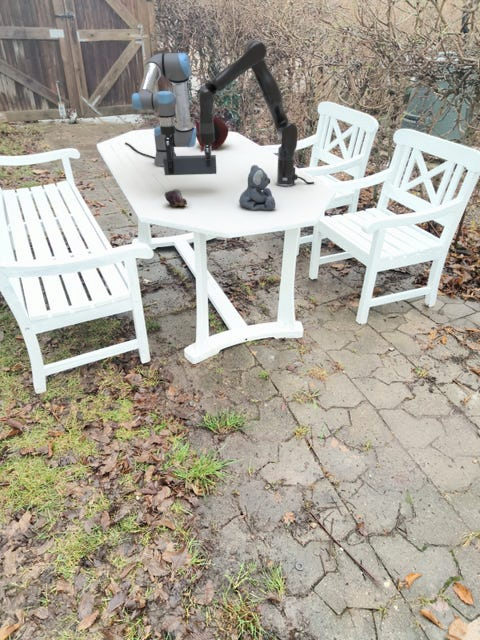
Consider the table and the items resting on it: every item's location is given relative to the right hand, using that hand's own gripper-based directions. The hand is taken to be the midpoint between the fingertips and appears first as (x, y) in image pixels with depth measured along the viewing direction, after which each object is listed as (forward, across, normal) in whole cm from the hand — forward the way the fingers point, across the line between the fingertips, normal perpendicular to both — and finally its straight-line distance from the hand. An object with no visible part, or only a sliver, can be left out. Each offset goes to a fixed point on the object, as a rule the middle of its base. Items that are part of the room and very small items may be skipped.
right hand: (208, 165), depth 239 cm
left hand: (+3, 0, +20) cm, 20 cm away
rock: (+15, -20, +17) cm, 30 cm away
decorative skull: (+15, +100, 0) cm, 101 cm away
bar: (+4, 0, +10) cm, 11 cm away
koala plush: (+15, -23, -24) cm, 36 cm away
